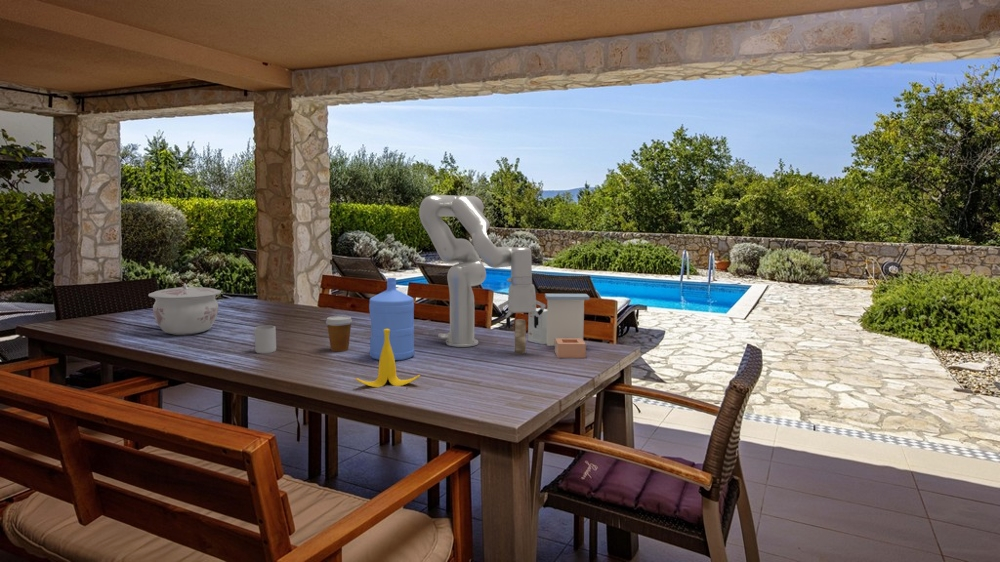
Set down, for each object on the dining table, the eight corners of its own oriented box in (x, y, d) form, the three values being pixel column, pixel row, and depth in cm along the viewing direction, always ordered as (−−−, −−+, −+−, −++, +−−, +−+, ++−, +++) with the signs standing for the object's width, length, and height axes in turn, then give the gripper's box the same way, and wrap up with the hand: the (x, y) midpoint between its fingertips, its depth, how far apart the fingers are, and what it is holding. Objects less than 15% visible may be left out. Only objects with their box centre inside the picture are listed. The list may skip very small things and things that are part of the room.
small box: (553, 342, 252) (553, 310, 251) (541, 344, 248) (541, 311, 247) (539, 339, 258) (539, 307, 257) (527, 341, 254) (528, 309, 253)
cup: (251, 353, 229) (250, 329, 228) (264, 347, 239) (263, 324, 238) (271, 353, 228) (270, 329, 227) (282, 347, 238) (282, 324, 237)
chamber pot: (185, 341, 249) (182, 288, 246) (134, 335, 259) (131, 285, 256) (238, 328, 275) (236, 281, 272) (190, 324, 285) (187, 278, 282)
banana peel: (354, 389, 185) (353, 333, 183) (384, 374, 203) (383, 322, 201) (406, 395, 181) (405, 337, 179) (432, 378, 199) (431, 325, 197)
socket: (557, 357, 227) (557, 343, 226) (554, 351, 237) (554, 338, 236) (585, 357, 227) (585, 344, 226) (581, 351, 237) (581, 338, 236)
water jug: (423, 356, 227) (423, 278, 224) (387, 363, 216) (386, 282, 212) (396, 349, 238) (395, 275, 234) (361, 356, 226) (359, 278, 223)
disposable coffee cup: (343, 353, 230) (343, 320, 229) (321, 351, 233) (320, 319, 232) (357, 348, 239) (357, 316, 238) (335, 346, 242) (335, 315, 241)
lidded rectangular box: (545, 349, 239) (546, 296, 237) (544, 344, 247) (545, 293, 245) (588, 349, 240) (589, 296, 237) (585, 345, 248) (586, 293, 245)
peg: (514, 353, 232) (515, 321, 231) (514, 351, 236) (514, 319, 235) (525, 353, 232) (526, 321, 231) (525, 351, 236) (525, 319, 235)
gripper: (497, 282, 227) (498, 330, 229) (546, 281, 228) (546, 328, 229) (497, 280, 235) (498, 326, 236) (544, 279, 235) (544, 325, 237)
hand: (522, 327), depth 233 cm, fingers open, 9 cm apart
